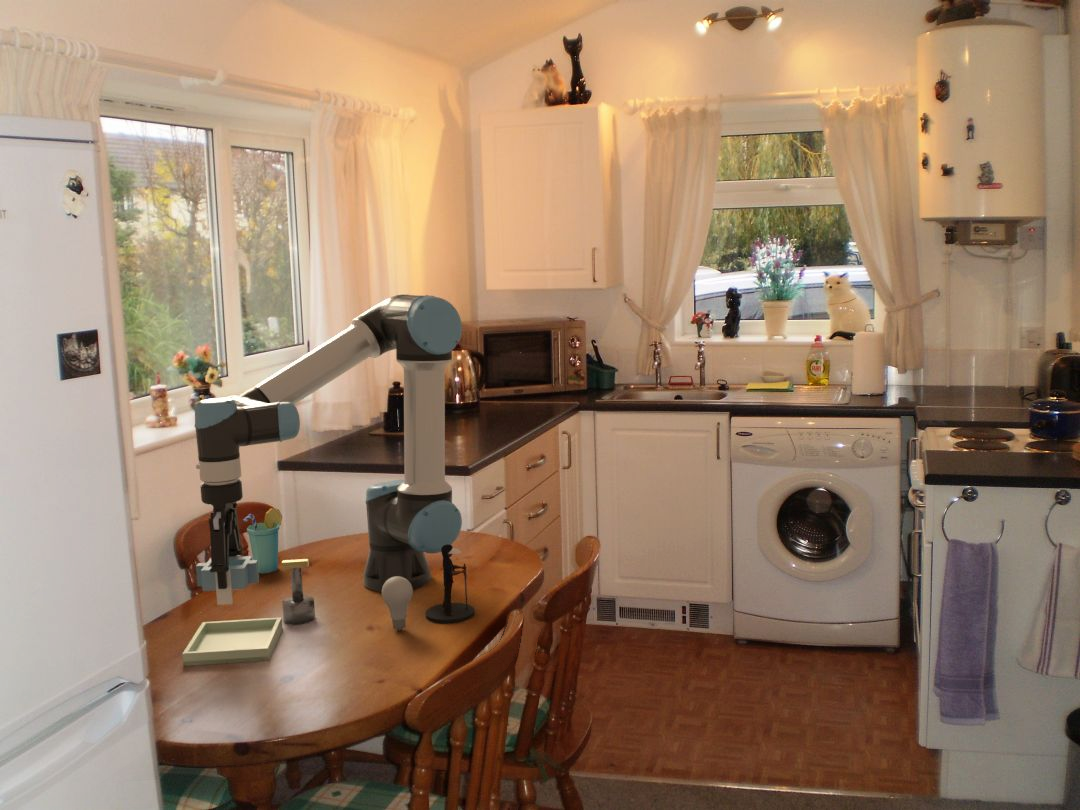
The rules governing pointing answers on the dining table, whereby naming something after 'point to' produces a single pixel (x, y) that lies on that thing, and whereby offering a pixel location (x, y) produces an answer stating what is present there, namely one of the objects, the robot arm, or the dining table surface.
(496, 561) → the dining table surface
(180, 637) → the dining table surface
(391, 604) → the lightbulb
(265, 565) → the cup
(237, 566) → the slotted blue block
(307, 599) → the grey stamp
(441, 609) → the figurine
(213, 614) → the dining table surface
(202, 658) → the tray
